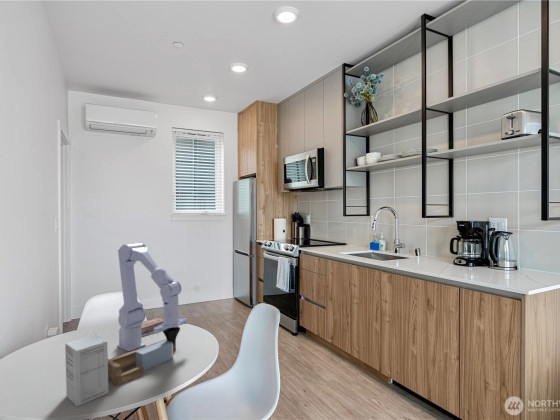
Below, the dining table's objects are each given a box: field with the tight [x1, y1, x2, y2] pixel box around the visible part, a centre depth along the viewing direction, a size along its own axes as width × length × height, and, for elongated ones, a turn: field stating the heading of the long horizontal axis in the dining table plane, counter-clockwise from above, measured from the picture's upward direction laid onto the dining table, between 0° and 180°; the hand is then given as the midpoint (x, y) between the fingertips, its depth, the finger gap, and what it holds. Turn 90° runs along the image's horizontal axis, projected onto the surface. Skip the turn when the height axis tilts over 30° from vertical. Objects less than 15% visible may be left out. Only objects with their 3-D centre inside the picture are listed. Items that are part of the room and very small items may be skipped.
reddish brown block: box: [141, 317, 164, 338], centre depth 162 cm, size 18×5×10 cm
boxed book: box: [135, 339, 174, 372], centre depth 128 cm, size 4×13×6 cm, turn 144°
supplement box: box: [64, 334, 109, 407], centre depth 106 cm, size 10×9×17 cm
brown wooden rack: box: [108, 338, 177, 386], centre depth 127 cm, size 10×30×6 cm, turn 144°
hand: (171, 346), depth 135 cm, fingers closed
